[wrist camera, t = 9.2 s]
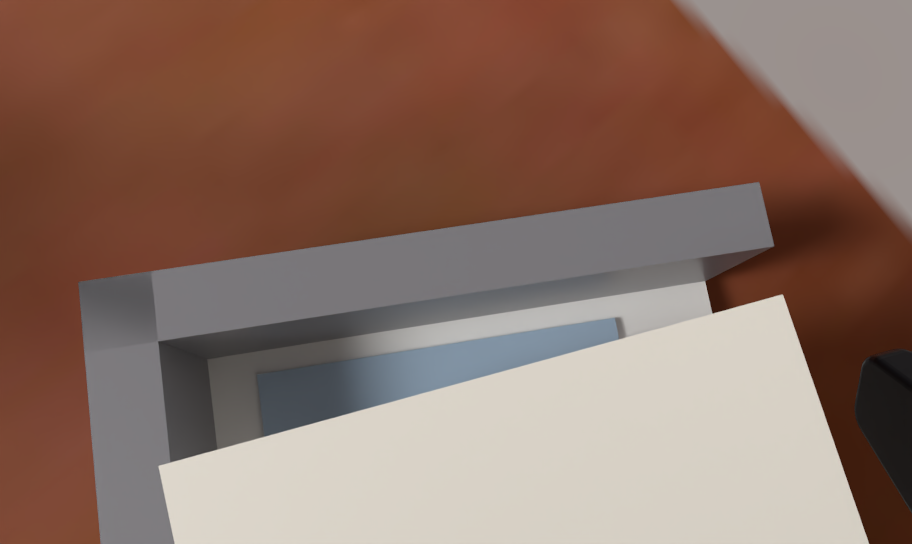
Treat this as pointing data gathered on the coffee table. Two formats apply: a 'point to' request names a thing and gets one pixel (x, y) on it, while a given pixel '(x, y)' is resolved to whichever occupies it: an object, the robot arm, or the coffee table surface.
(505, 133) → the coffee table surface
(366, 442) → the block
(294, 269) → the arena
